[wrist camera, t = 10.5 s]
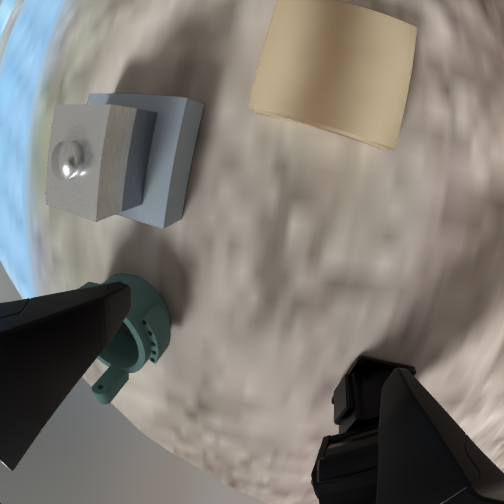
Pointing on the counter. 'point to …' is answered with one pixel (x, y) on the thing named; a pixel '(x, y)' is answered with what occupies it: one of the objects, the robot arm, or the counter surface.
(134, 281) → the bracket
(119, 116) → the block
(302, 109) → the stand oak
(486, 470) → the robot arm
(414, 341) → the counter surface
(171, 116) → the stand slate
